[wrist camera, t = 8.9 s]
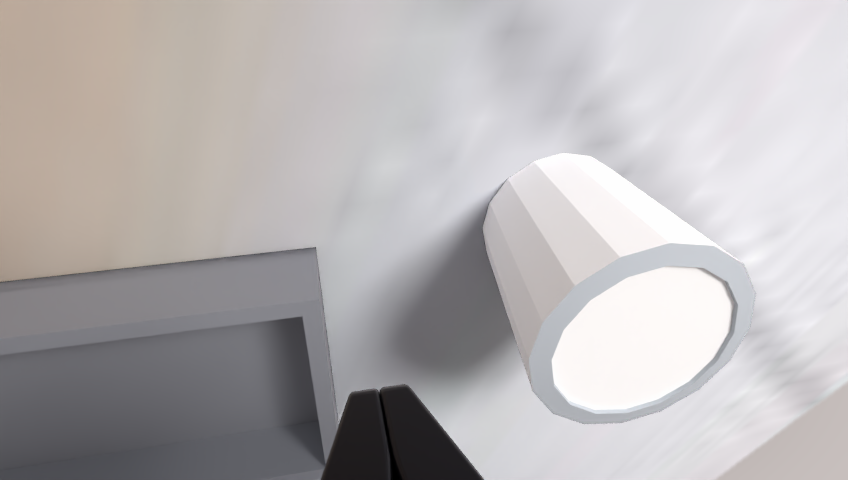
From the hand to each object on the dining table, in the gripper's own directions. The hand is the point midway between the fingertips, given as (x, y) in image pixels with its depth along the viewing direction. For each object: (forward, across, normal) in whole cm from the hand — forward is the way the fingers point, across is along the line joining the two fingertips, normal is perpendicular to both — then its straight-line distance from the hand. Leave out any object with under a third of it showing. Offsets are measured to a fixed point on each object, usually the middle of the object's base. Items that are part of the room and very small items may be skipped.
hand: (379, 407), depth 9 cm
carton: (+12, +11, +10) cm, 19 cm away
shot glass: (+12, -8, +5) cm, 15 cm away
